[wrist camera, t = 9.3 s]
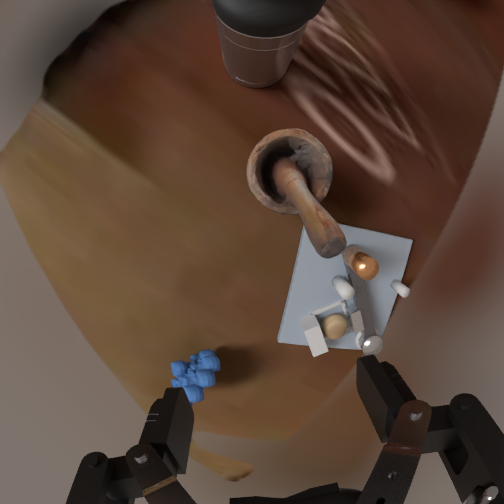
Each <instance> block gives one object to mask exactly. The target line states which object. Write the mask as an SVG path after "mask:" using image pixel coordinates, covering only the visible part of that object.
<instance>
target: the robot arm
mask: <svg viewBox="0 0 504 504" xmlns="http://www.w3.org/2000/svg"><path fill="white" fill-rule="evenodd" d="M325 1H326V0H213V6H214V11H215V16H216V22H217V26H218V32H219V38H220V43H221V49H222V55H223V60H224V65H225V69H226V71H227V73H228V75H229V76H230V77H231V78H232V79H233V80H234V81H236V82H237V83H239V84H241V85H243V86H246V87H250V88H263V87H267V86H271V85H273V84H274V83H276V82H278V81H279V80H280V79H281V78H282V77H283V76H284V74H285V72H286V70H287V68H288V66H289V64H290V62H291V59H292V57H293V55H294V53H295V50H296V48H297V46H298V44H299V42H300V39H301V37H302V35H303V33H304V30H305V28H306V26H307V24H308V21H309V20H311V19H312V18H314V17H315V16H316V15H317V14H318V13H319V11H320V10H321V8H322V6H323V5H324V3H325ZM356 383H357V390H358V393H359V396H360V398H361V400H362V402H363V404H364V406H365V408H366V411H367V413H368V415H369V417H370V419H371V421H372V423H373V425H374V427H375V430H376V432H377V434H378V436H379V438H380V441H381V443H385V442H387V444H386V445H384V447H383V449H382V451H381V453H380V455H379V458H378V460H377V462H376V464H375V467H374V469H373V471H372V473H371V475H370V477H369V479H368V481H367V483H366V485H365V487H364V489H363V491H360V490H356V489H347V488H339V487H338V484H337V483H332V484H328V485H324V486H319V487H314V488H310V489H308V490H305V491H303V492H300V493H298V494H295V495H292V496H290V497H287V498H270V497H259V496H254V497H241V498H230V504H403V503H404V501H405V498H406V496H407V494H408V491H409V488H410V486H411V483H412V480H413V478H414V475H415V472H416V469H417V466H418V463H419V460H420V457H421V454H424V453H432V452H438V453H439V455H440V457H441V459H442V461H443V463H444V465H445V467H446V470H447V471H448V474H449V476H450V478H451V480H452V482H453V484H454V486H455V489H456V491H457V493H458V495H459V497H460V500H461V502H462V504H504V434H503V433H502V431H501V430H500V428H499V427H498V426H497V424H496V423H495V421H494V420H493V419H492V417H491V416H490V414H489V413H488V412H487V410H486V409H485V408H484V406H483V405H482V404H481V402H480V401H479V400H478V399H477V398H476V397H475V396H473V395H472V394H467V393H463V394H459V395H457V396H455V397H454V398H453V399H452V400H451V402H450V405H443V406H436V407H431V406H430V405H429V404H428V403H426V402H424V401H421V400H417V399H416V397H415V396H414V395H413V393H412V392H411V390H410V389H409V387H408V386H407V384H406V383H405V381H404V380H402V377H401V376H400V375H399V373H398V371H397V370H396V369H395V367H394V366H393V365H391V364H389V363H387V362H386V361H385V362H381V363H379V362H378V360H377V359H376V357H375V355H374V354H370V355H367V356H363V357H359V358H357V381H356ZM193 425H194V413H193V409H192V407H191V404H190V402H189V400H188V397H187V395H186V392H185V390H184V388H183V387H172V388H166V390H165V393H164V396H163V398H162V399H157V400H156V401H155V402H154V403H153V405H152V406H151V408H150V411H149V415H148V417H147V422H146V423H145V426H144V429H143V432H142V435H141V438H140V441H139V444H137V445H134V446H132V447H131V448H130V449H129V450H128V451H127V452H126V455H125V456H121V457H115V458H109V459H108V458H107V456H106V455H105V454H103V453H101V452H92V453H89V454H87V455H86V456H85V457H84V458H83V459H82V461H81V463H80V466H79V468H78V471H77V474H76V476H75V479H74V482H73V484H72V487H71V490H70V493H69V496H68V499H67V502H66V504H134V502H135V498H139V497H144V498H145V499H146V501H147V502H148V504H197V503H196V502H195V501H194V500H193V498H192V497H191V496H190V495H189V494H188V492H187V491H186V490H185V489H184V488H183V486H182V485H181V484H180V482H179V481H178V480H177V479H176V477H177V474H185V473H186V467H187V461H188V455H189V449H190V443H191V437H192V431H193Z"/></svg>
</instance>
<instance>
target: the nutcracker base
mask: <svg viewBox="0 0 504 504" xmlns="http://www.w3.org/2000/svg"><path fill="white" fill-rule="evenodd" d="M337 224H338V225H339V226H340V228H341V230H342V231H343V233H344V235H345V238H346V241H347V244H346V246H348V245H351V244H353V245H355V246H356V247H358V248H359V249H361V250H362V251H363V252H365V253H366V254H368V255H369V256H371V257H372V258H373V259H375V260H376V261H377V262H378V264H379V272H378V274H377V275H376V277H375V278H373V279H371V280H365V282H366V287H367V291H368V296H369V300H370V305H371V310H372V315H373V320H374V325H375V331H376V333H377V334H378V335H379V336H380V338H382V336H383V333H384V330H385V328H386V325H387V322H388V319H389V317H390V314H391V311H392V308H393V305H394V302H395V299H396V296H397V293H398V294H400V295H401V296H402V297H404V298H405V297H407V296H408V295H409V293H410V290H409V288H407V287H406V286H405V285H403V284H402V283H401V280H402V277H403V274H404V270H405V267H406V263H407V260H408V256H409V253H410V249H411V245H412V241H413V240H411V239H408V238H403V237H399V236H395V235H390V234H386V233H382V232H377V231H373V230H368V229H364V228H359V227H354V226H350V225H345V224H340V223H337ZM354 294H355V290H354V288H353V287H352V286H351V285H350V284H349V280H348V276H347V272H346V268H345V264H344V261H343V257H342V253H340V254H339V255H338V256H335V257H333V258H329V259H326V258H322V257H321V256H320V255H319V254H318V253H317V252H316V251H315V248H314V247H313V245H312V244H311V242H310V240H309V238H308V235H307V233H306V230H305V227H304V225H303V230H302V235H301V240H300V244H299V249H298V253H297V258H296V262H295V267H294V271H293V276H292V280H291V284H290V288H289V293H288V297H287V301H286V305H285V309H284V314H283V318H282V322H281V326H280V330H279V334H278V338H277V339H278V342H280V343H289V344H298V345H308V346H310V349H311V352H312V354H313V357H315V356H318V355H320V354H323V353H325V352H328V349H327V347H331V348H344V349H359V350H362V349H361V347H360V346H359V338H360V336H361V331H360V332H358V333H354V331H353V330H352V328H351V327H350V325H349V322H348V318H347V314H346V310H345V306H347V305H350V304H352V303H354V300H353V296H354ZM330 314H339V315H341V316H343V317H344V318H345V320H346V322H347V331H346V333H345V334H344V335H343V336H342V337H341V338H339V339H335V340H333V339H329V338H327V337H326V336H325V335H324V334H323V332H322V328H321V326H322V322H323V320H324V319H325V318H326V317H327V316H328V315H330Z"/></svg>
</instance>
